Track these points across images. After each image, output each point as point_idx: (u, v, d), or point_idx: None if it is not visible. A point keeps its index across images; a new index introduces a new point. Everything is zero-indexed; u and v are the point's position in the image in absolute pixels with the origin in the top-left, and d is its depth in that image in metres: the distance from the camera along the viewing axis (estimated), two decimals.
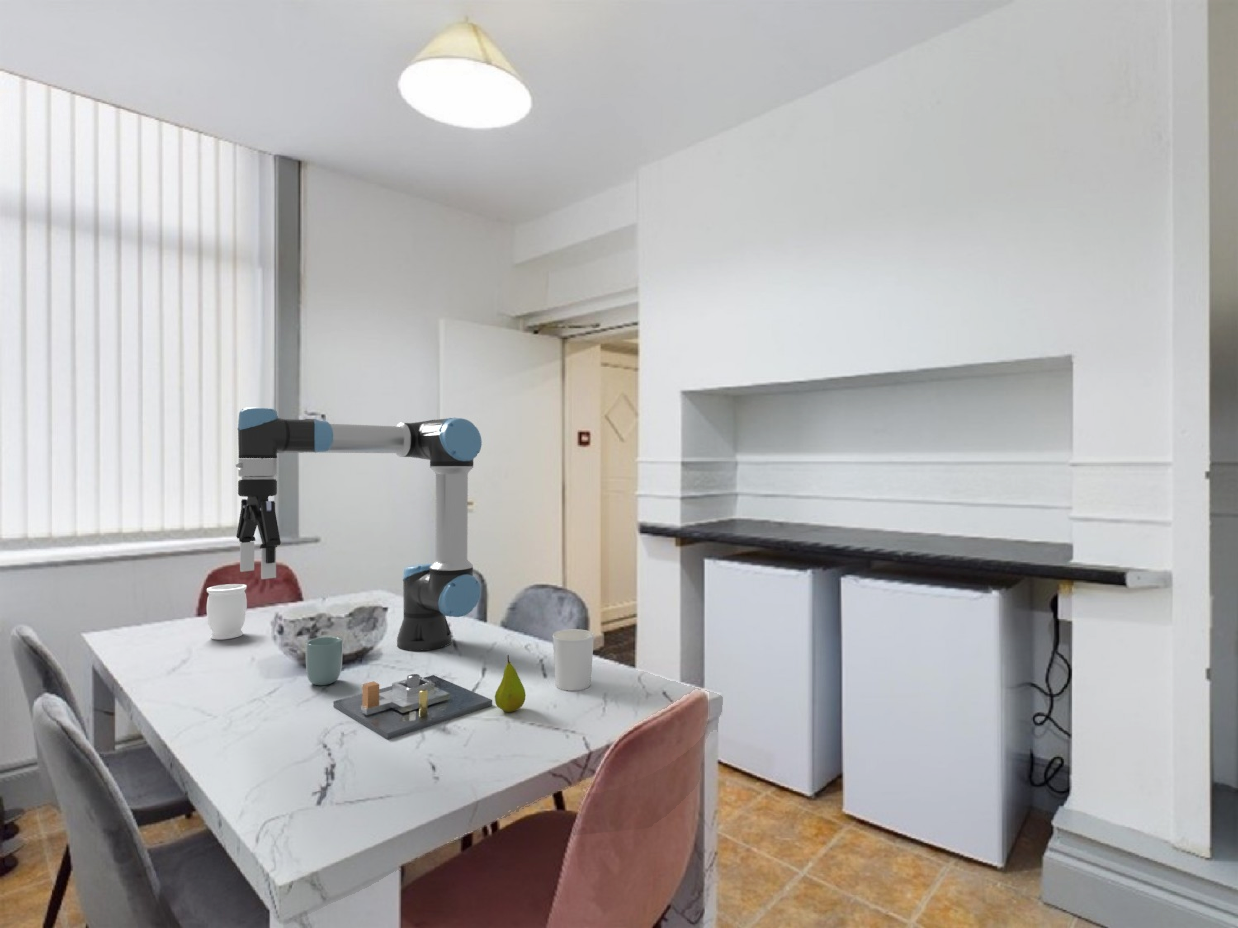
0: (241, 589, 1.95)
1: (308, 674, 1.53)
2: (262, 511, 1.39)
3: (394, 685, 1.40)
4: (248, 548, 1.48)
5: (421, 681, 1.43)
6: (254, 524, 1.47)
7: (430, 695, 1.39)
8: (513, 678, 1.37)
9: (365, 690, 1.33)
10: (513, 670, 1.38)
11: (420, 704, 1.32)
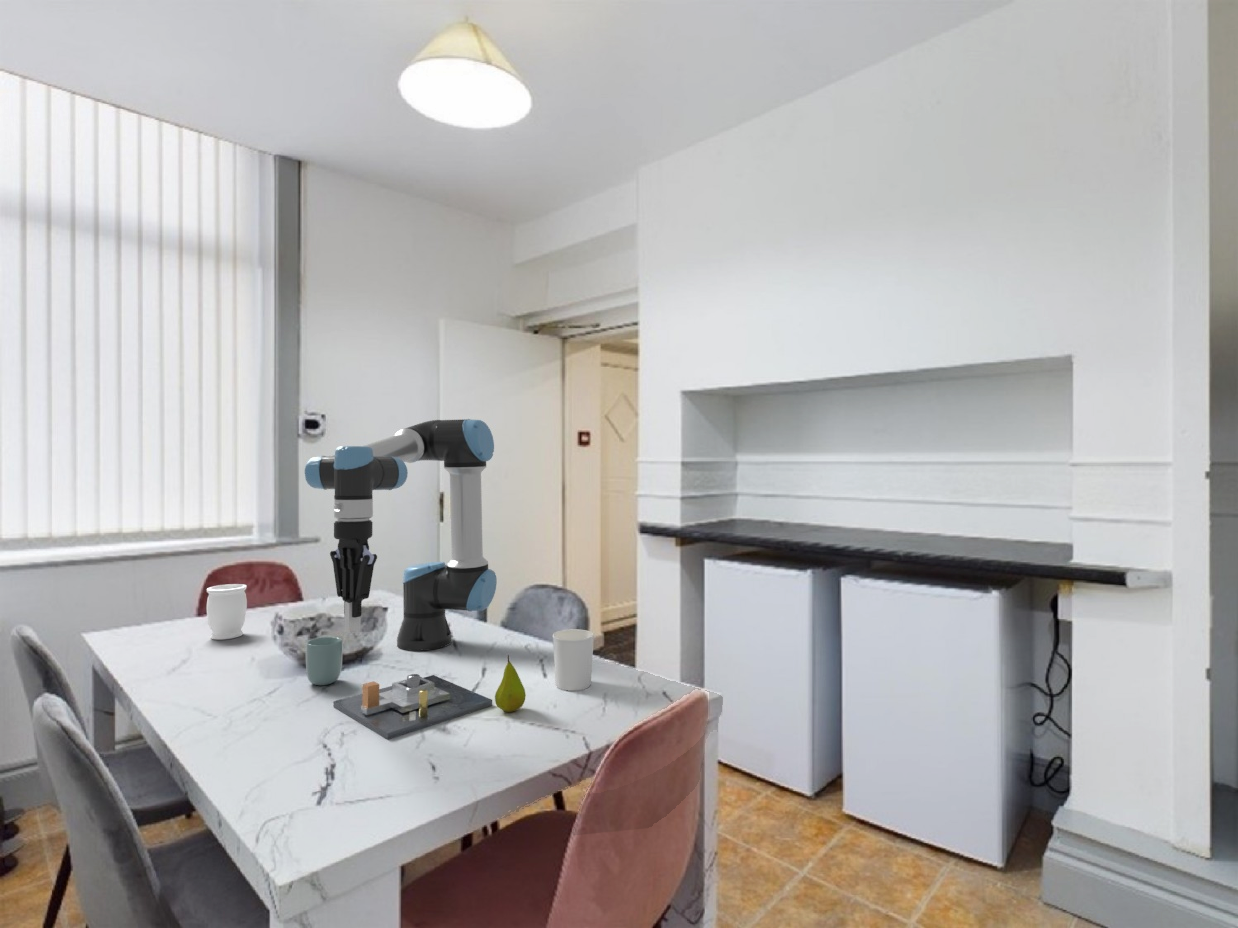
0: (241, 589, 1.95)
1: (308, 674, 1.53)
2: (363, 564, 1.33)
3: (394, 685, 1.40)
4: None
5: (421, 681, 1.43)
6: None
7: (430, 695, 1.39)
8: (513, 678, 1.37)
9: (365, 690, 1.33)
10: (513, 670, 1.38)
11: (420, 704, 1.32)
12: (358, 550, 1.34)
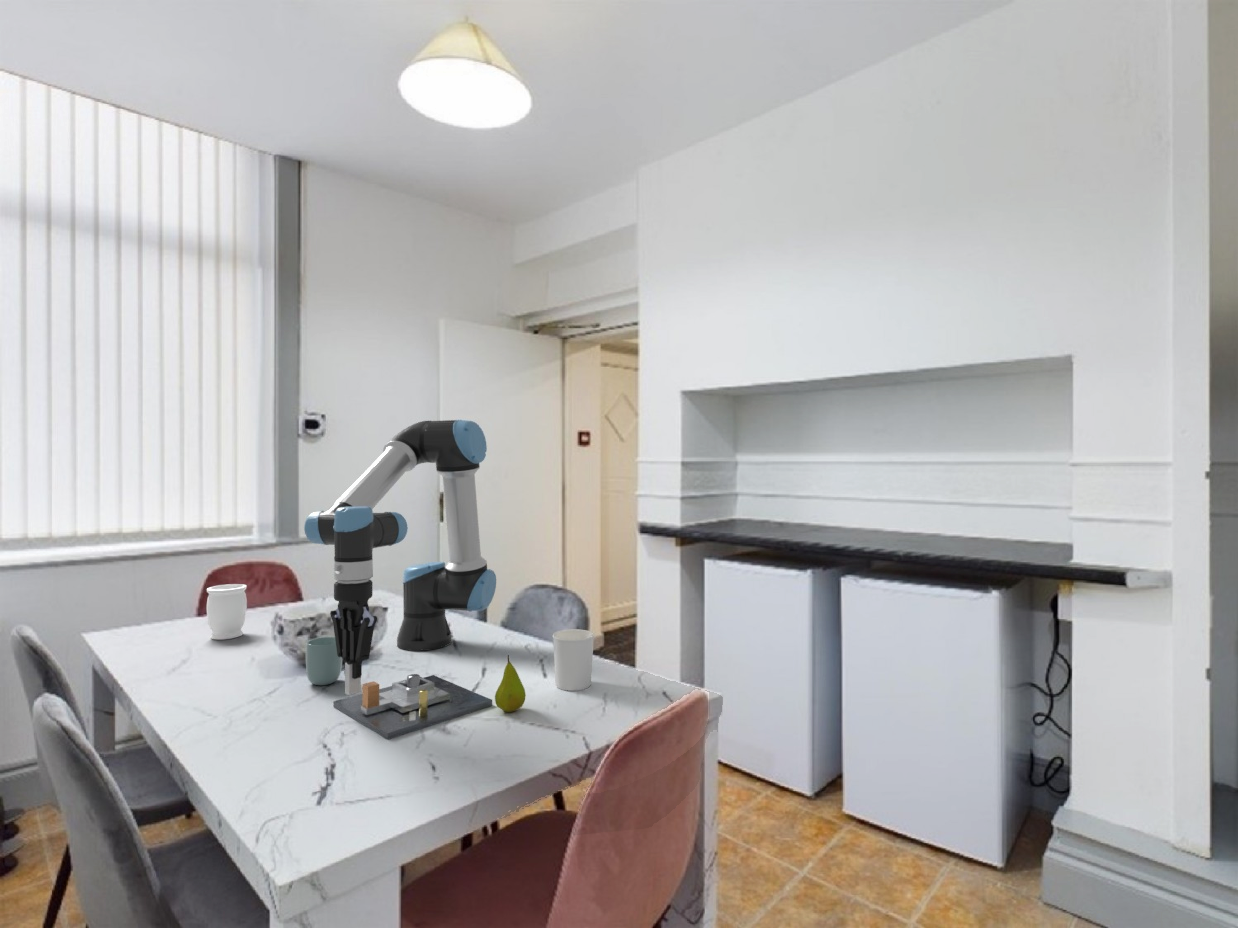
0: (241, 589, 1.95)
1: (308, 674, 1.53)
2: (363, 627, 1.33)
3: (394, 685, 1.40)
4: None
5: (421, 681, 1.43)
6: None
7: (430, 695, 1.39)
8: (513, 678, 1.37)
9: (365, 690, 1.33)
10: (513, 670, 1.38)
11: (420, 704, 1.32)
12: (358, 612, 1.34)
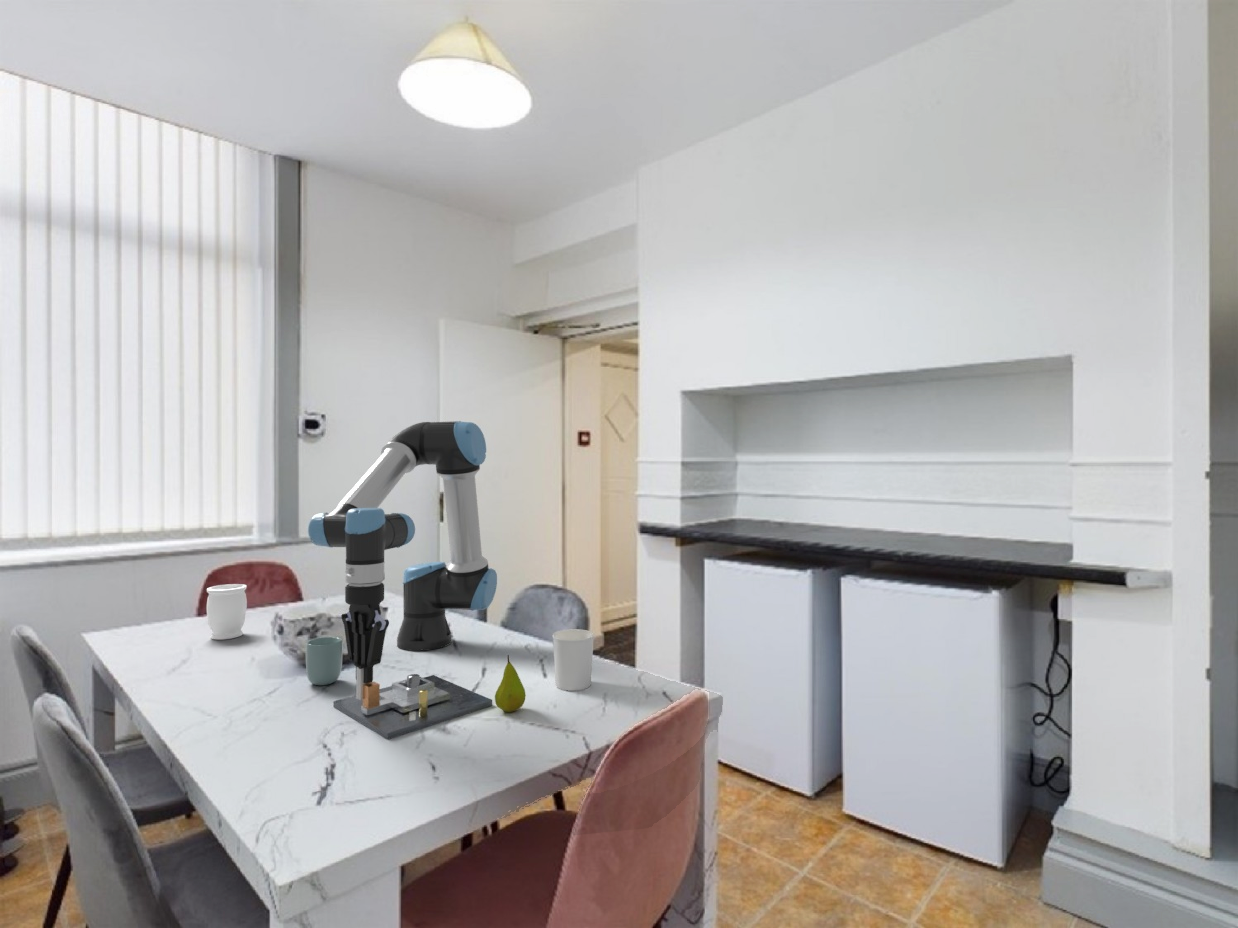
0: (241, 589, 1.95)
1: (308, 674, 1.53)
2: (374, 631, 1.31)
3: (394, 685, 1.40)
4: None
5: (421, 681, 1.43)
6: None
7: (430, 695, 1.39)
8: (513, 678, 1.37)
9: (365, 690, 1.33)
10: (513, 670, 1.38)
11: (420, 704, 1.32)
12: (370, 616, 1.32)
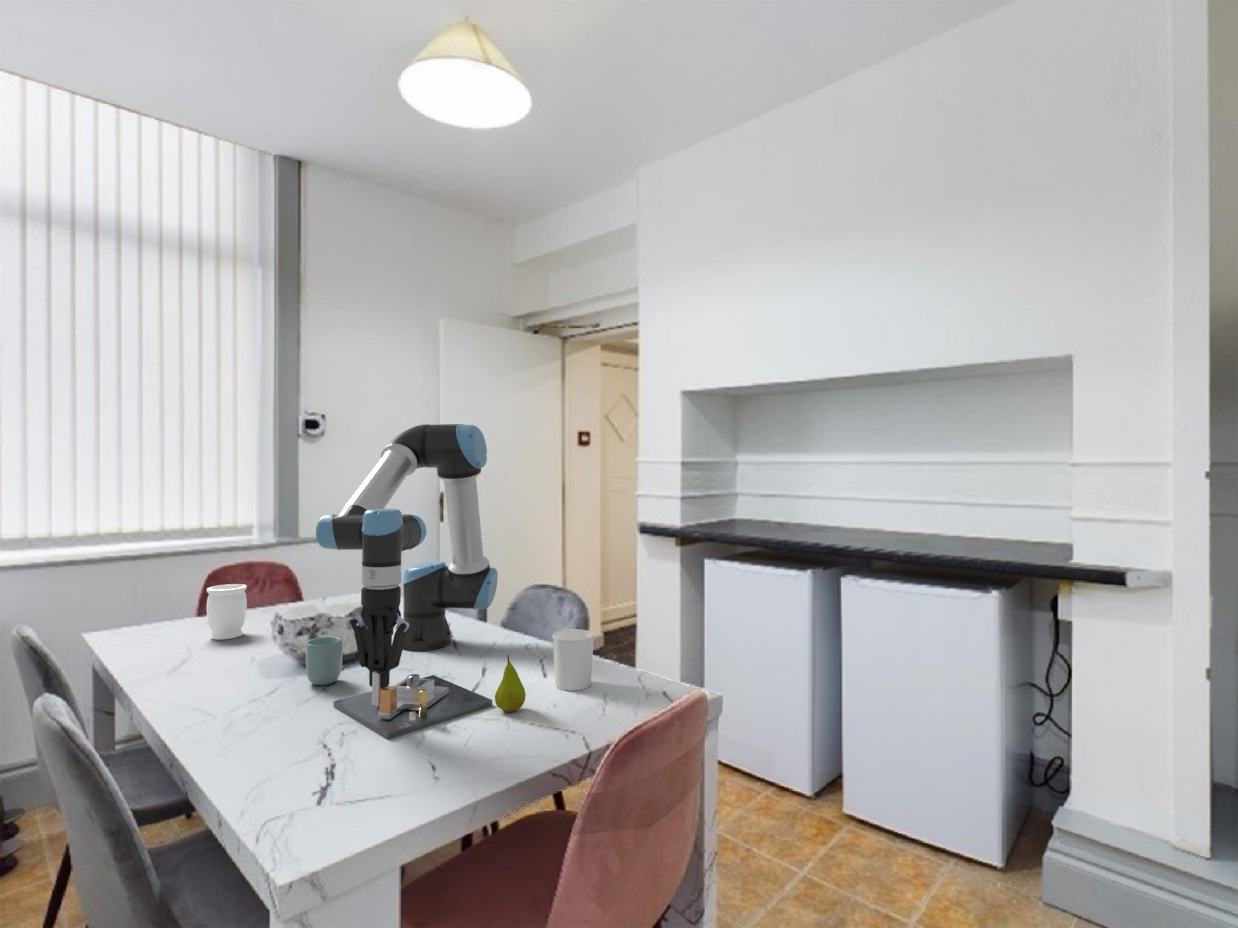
0: (241, 589, 1.95)
1: (308, 674, 1.53)
2: (398, 633, 1.29)
3: None
4: None
5: None
6: (379, 640, 1.32)
7: (433, 692, 1.42)
8: (513, 678, 1.37)
9: (384, 695, 1.30)
10: (513, 670, 1.38)
11: (420, 704, 1.32)
12: (392, 618, 1.30)
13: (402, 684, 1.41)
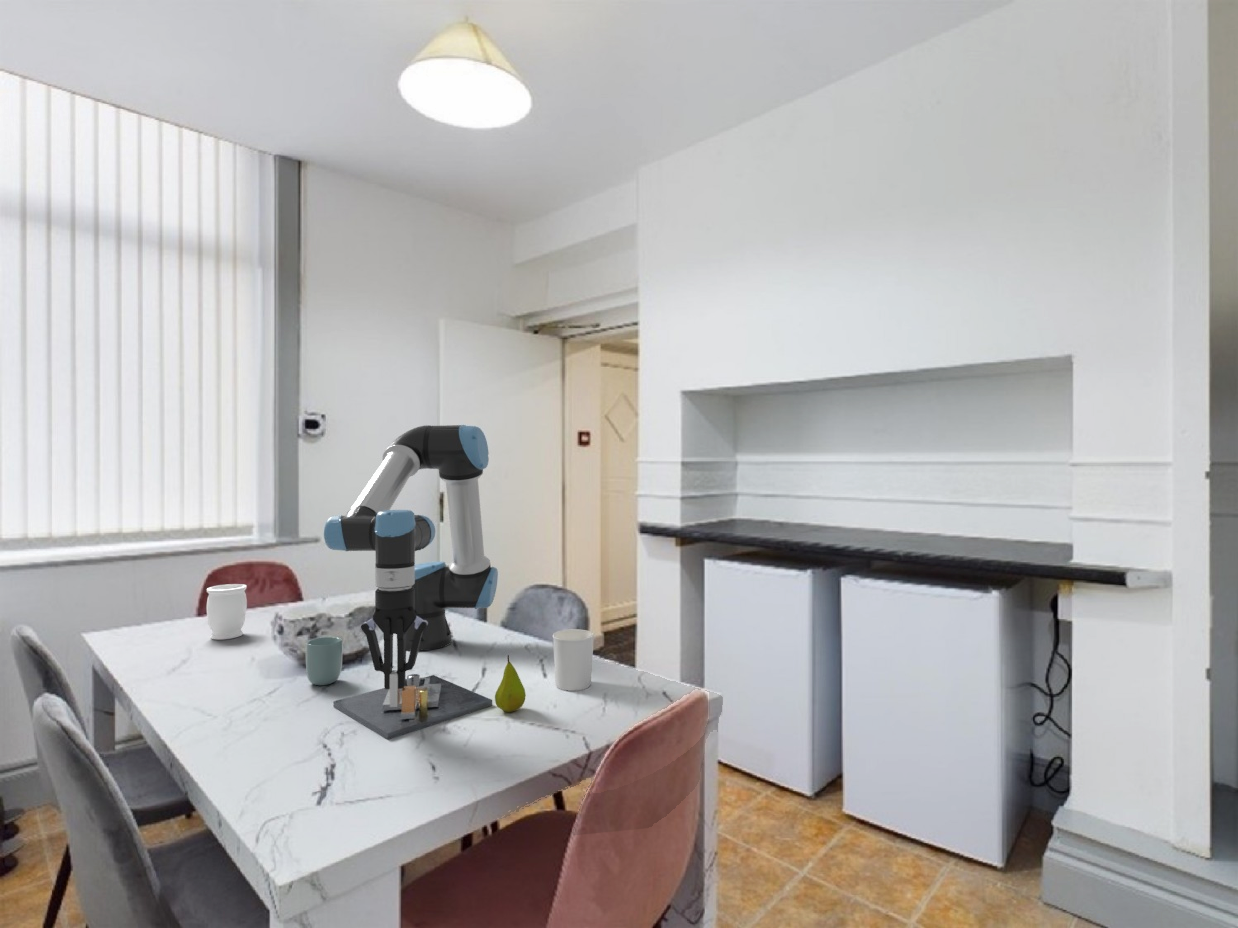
0: (241, 589, 1.95)
1: (308, 674, 1.53)
2: (419, 632, 1.31)
3: (400, 690, 1.37)
4: None
5: None
6: (392, 642, 1.32)
7: (432, 689, 1.43)
8: (513, 678, 1.37)
9: (407, 695, 1.30)
10: (513, 670, 1.38)
11: (420, 704, 1.32)
12: (411, 618, 1.30)
13: None
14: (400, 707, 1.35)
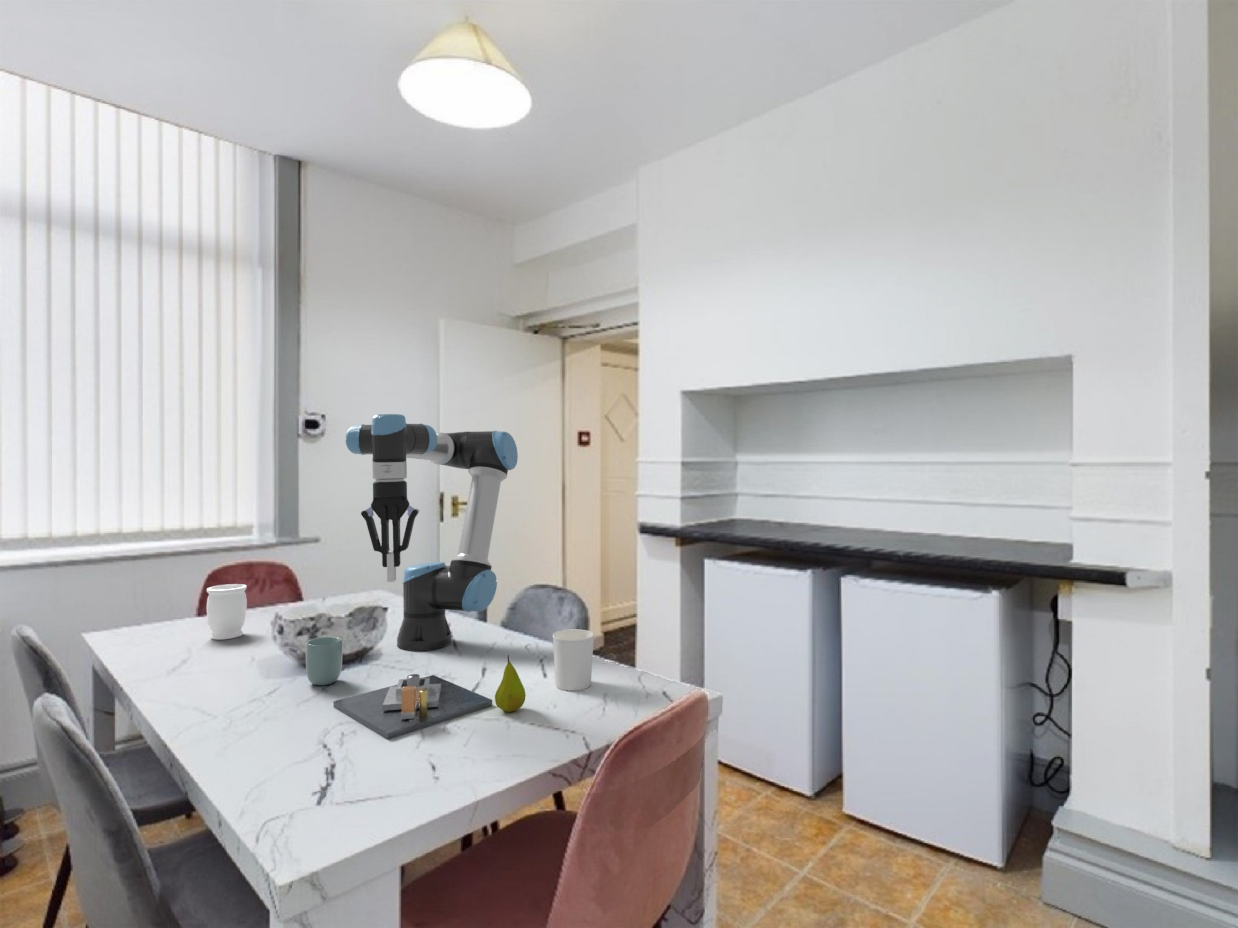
0: (241, 589, 1.95)
1: (308, 674, 1.53)
2: (411, 518, 1.52)
3: (400, 690, 1.37)
4: None
5: None
6: (388, 528, 1.53)
7: (432, 689, 1.43)
8: (513, 678, 1.37)
9: (407, 695, 1.30)
10: (513, 670, 1.38)
11: (420, 704, 1.32)
12: (404, 506, 1.52)
13: (401, 686, 1.40)
14: (400, 707, 1.35)
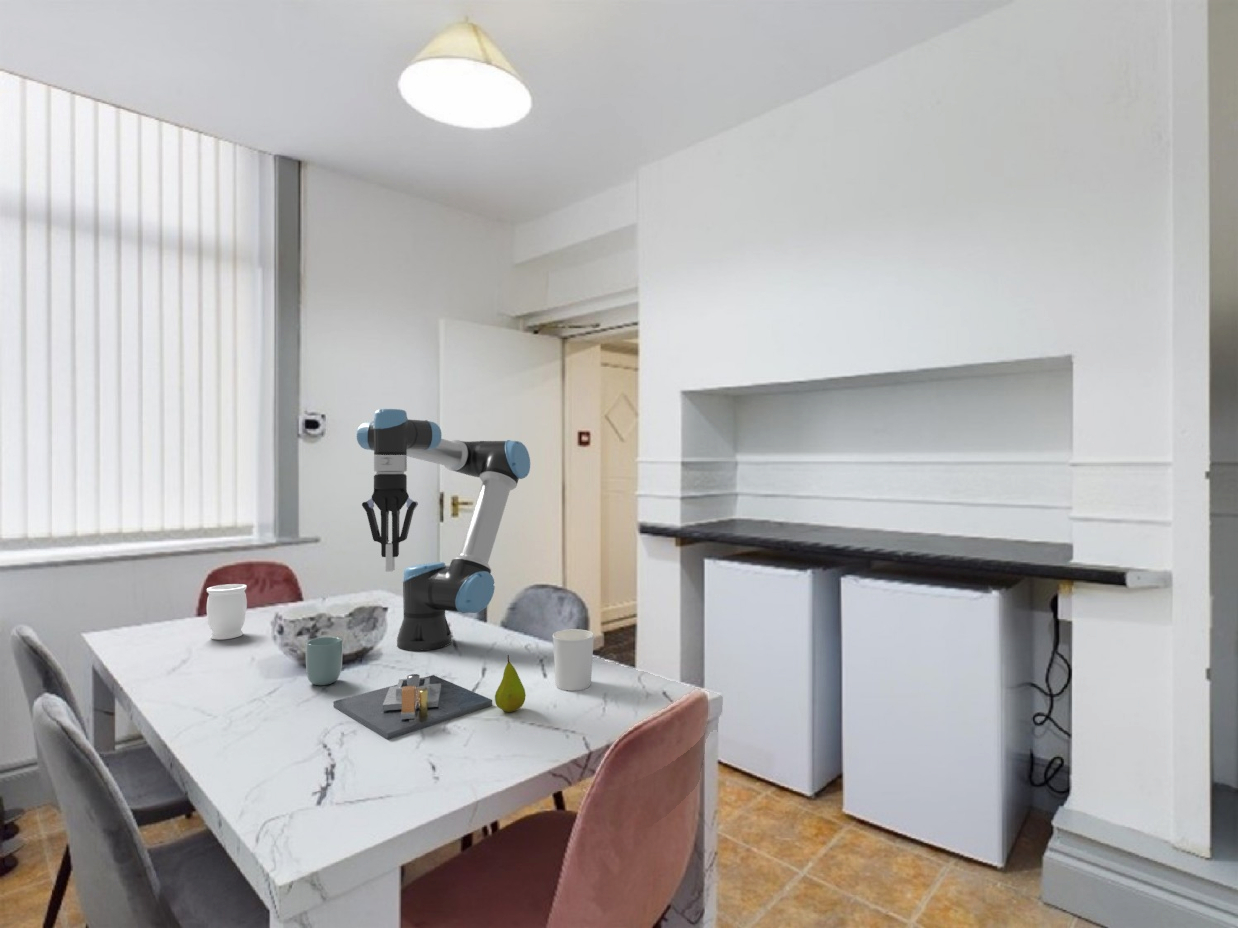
0: (241, 589, 1.95)
1: (308, 674, 1.53)
2: (410, 510, 1.57)
3: (400, 690, 1.37)
4: None
5: None
6: (387, 519, 1.58)
7: (432, 689, 1.43)
8: (513, 678, 1.37)
9: (407, 695, 1.30)
10: (513, 670, 1.38)
11: (420, 704, 1.32)
12: (403, 498, 1.57)
13: (401, 686, 1.40)
14: (400, 707, 1.35)
